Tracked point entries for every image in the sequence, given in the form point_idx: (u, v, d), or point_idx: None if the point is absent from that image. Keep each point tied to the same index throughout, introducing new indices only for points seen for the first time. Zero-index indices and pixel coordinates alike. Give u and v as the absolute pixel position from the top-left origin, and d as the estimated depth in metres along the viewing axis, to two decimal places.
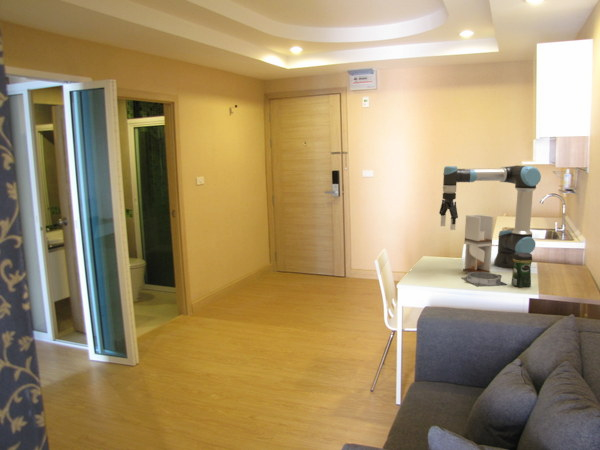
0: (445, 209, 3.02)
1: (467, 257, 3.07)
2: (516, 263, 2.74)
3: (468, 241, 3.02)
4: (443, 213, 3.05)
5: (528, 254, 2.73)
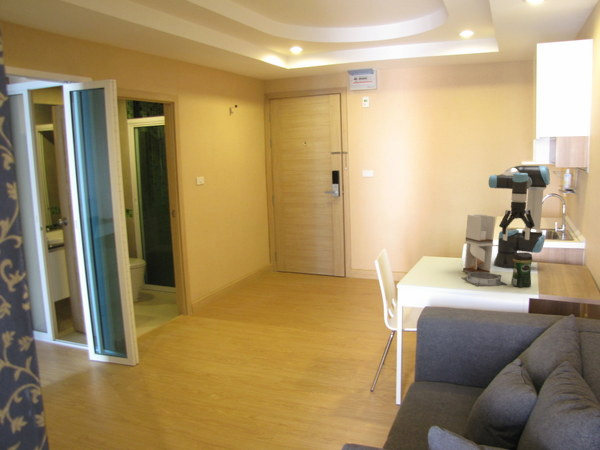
0: (523, 220, 2.76)
1: (467, 256, 3.07)
2: (516, 263, 2.74)
3: (469, 240, 3.02)
4: (527, 225, 2.76)
5: (528, 254, 2.73)
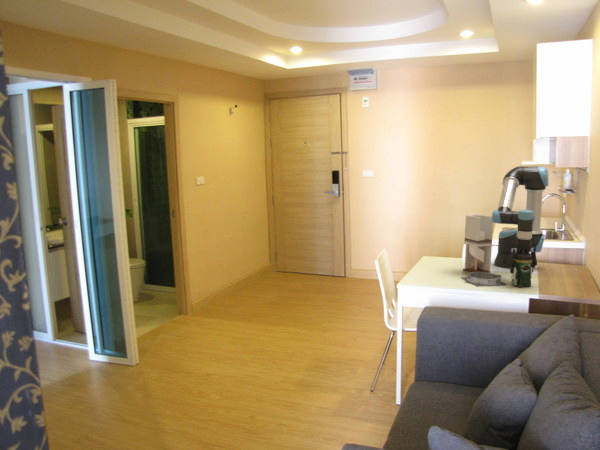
0: None
1: (467, 257, 3.07)
2: (516, 263, 2.74)
3: (468, 241, 3.02)
4: None
5: (528, 254, 2.73)
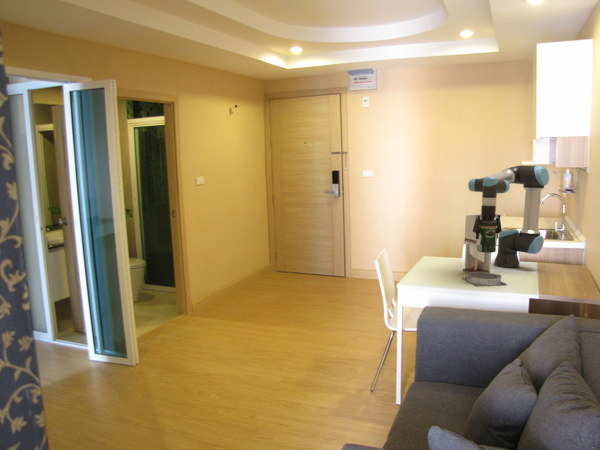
0: None
1: (467, 257, 3.07)
2: (481, 229, 2.79)
3: (468, 241, 3.02)
4: None
5: (493, 220, 2.78)
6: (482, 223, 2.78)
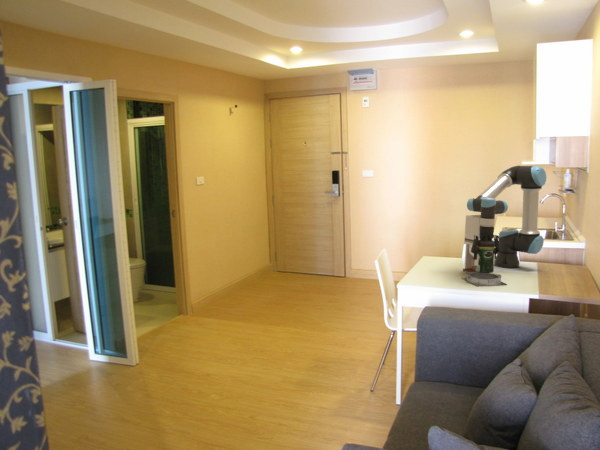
0: None
1: (467, 257, 3.07)
2: (479, 250, 2.81)
3: (468, 241, 3.02)
4: None
5: (491, 241, 2.80)
6: (480, 244, 2.80)
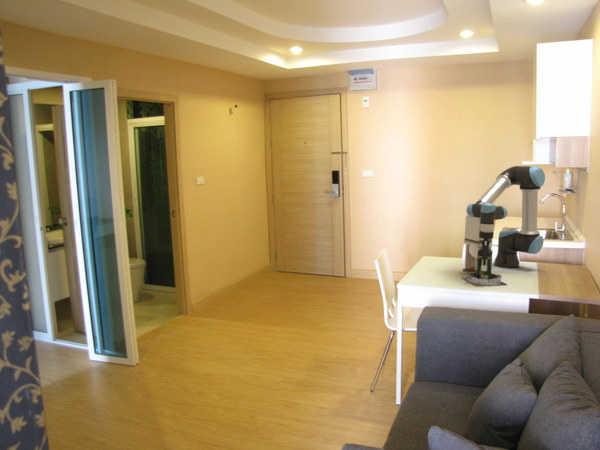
0: None
1: (467, 257, 3.07)
2: None
3: (468, 241, 3.02)
4: None
5: (489, 249, 2.84)
6: (488, 254, 2.78)
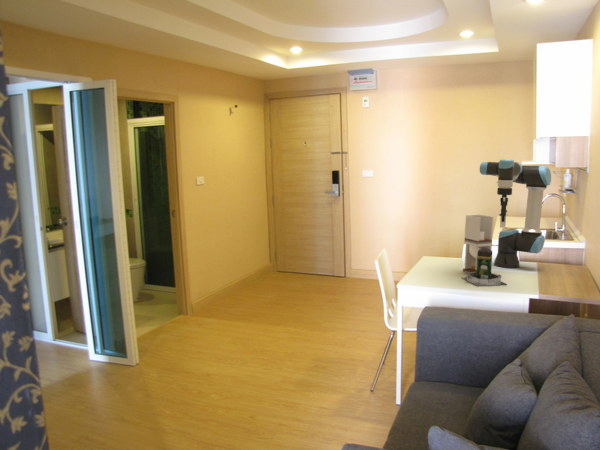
0: None
1: (467, 257, 3.07)
2: (486, 260, 2.79)
3: (468, 241, 3.02)
4: None
5: (489, 249, 2.84)
6: (488, 254, 2.78)
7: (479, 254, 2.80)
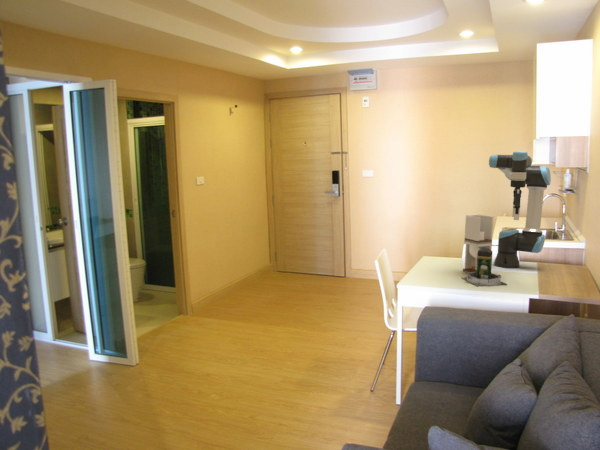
0: None
1: (467, 257, 3.07)
2: (486, 260, 2.79)
3: (468, 241, 3.02)
4: None
5: (489, 249, 2.84)
6: (488, 254, 2.78)
7: (479, 254, 2.80)
